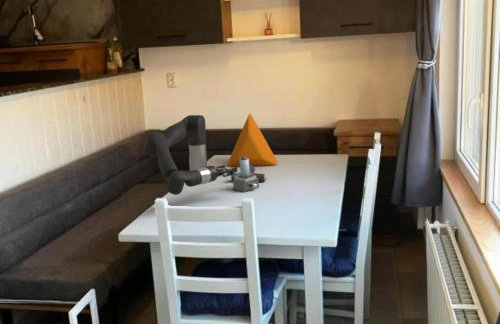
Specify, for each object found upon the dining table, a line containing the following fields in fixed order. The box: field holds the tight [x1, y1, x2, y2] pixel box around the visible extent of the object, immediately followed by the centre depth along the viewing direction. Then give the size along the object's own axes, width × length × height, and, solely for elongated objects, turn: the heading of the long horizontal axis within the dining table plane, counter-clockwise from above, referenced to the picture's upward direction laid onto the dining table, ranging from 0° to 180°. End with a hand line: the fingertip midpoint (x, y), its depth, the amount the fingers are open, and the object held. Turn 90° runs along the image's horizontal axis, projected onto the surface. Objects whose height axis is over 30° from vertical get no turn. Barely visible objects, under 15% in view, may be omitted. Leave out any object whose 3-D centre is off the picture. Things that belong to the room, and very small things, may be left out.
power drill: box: [230, 165, 268, 183], centre depth 295 cm, size 5×19×20 cm
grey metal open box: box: [232, 174, 260, 193], centre depth 274 cm, size 11×10×6 cm
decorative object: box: [226, 113, 279, 167], centre depth 322 cm, size 30×15×30 cm, turn 82°
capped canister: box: [239, 156, 250, 178], centre depth 273 cm, size 5×5×11 cm
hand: (230, 168), depth 266 cm, fingers open, 8 cm apart
